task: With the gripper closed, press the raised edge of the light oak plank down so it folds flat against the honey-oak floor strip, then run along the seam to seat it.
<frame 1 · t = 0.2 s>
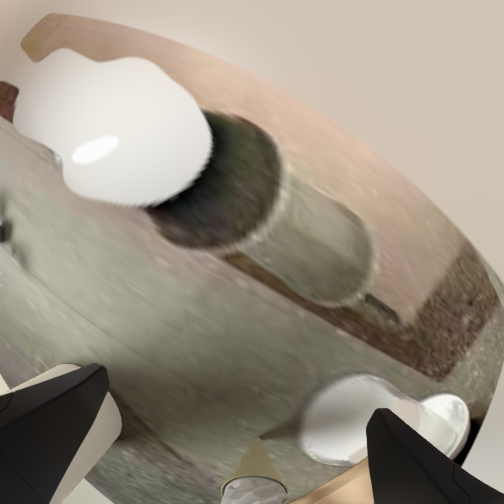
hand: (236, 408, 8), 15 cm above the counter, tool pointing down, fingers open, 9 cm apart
ice cream cone: (258, 437, 23), on the counter
floor strip: (327, 501, 22), on the counter
bat toy: (2, 235, 25), on the counter
tall pillar cylinder: (83, 405, 24), on the counter
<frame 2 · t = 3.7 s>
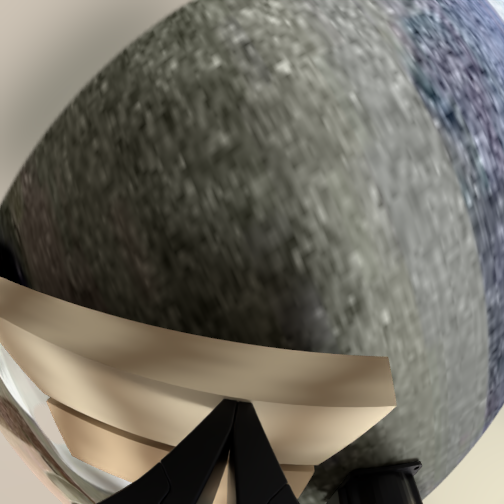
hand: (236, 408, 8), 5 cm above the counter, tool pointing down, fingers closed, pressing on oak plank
floor strip: (174, 455, 15), on the counter
oak plank: (149, 398, 11), point 3 cm above the counter, hinge at 22.6°, touching gripper
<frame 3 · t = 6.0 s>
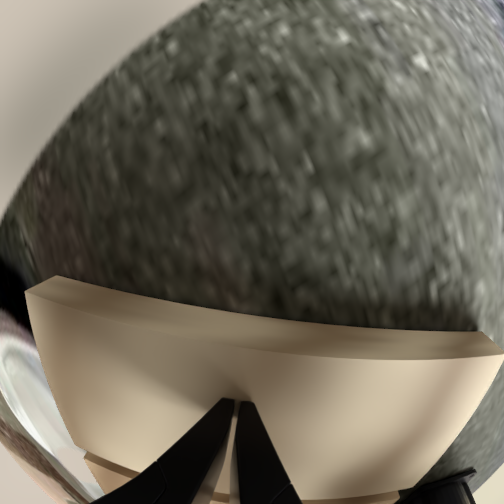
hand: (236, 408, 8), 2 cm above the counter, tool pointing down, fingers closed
floor strip: (239, 499, 12), on the counter
oak plank: (259, 430, 9), point 1 cm above the counter, hinge at 0.3°, touching gripper
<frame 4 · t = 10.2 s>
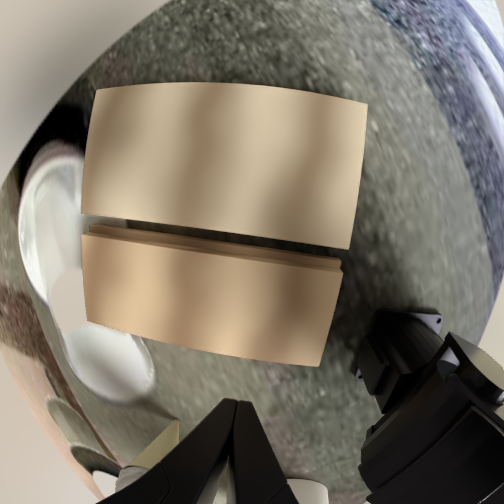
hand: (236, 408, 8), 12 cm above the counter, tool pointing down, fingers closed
ice cream cone: (177, 419, 24), on the counter
floor strip: (201, 293, 20), on the counter
oak plank: (211, 154, 17), point 1 cm above the counter, hinge at -0.4°
tall pillar cylinder: (287, 494, 26), on the counter
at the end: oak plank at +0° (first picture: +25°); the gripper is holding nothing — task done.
